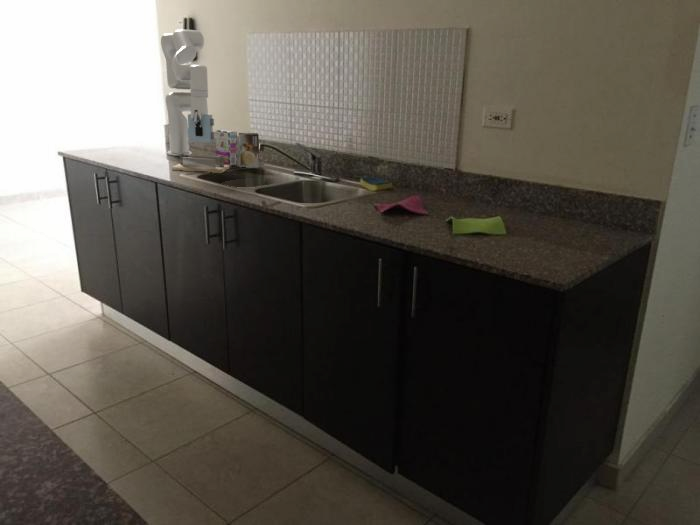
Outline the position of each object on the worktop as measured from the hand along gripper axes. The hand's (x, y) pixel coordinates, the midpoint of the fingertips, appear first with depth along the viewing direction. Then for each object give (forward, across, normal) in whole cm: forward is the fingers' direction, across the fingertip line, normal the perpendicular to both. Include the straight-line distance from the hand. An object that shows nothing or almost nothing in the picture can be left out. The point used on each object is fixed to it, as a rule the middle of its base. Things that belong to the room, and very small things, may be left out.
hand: (200, 135), depth 270 cm
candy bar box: (+16, -16, +7) cm, 24 cm away
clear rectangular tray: (+16, 0, 0) cm, 16 cm away
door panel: (+3, 0, 0) cm, 3 cm away
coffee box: (+16, -13, +19) cm, 28 cm away
